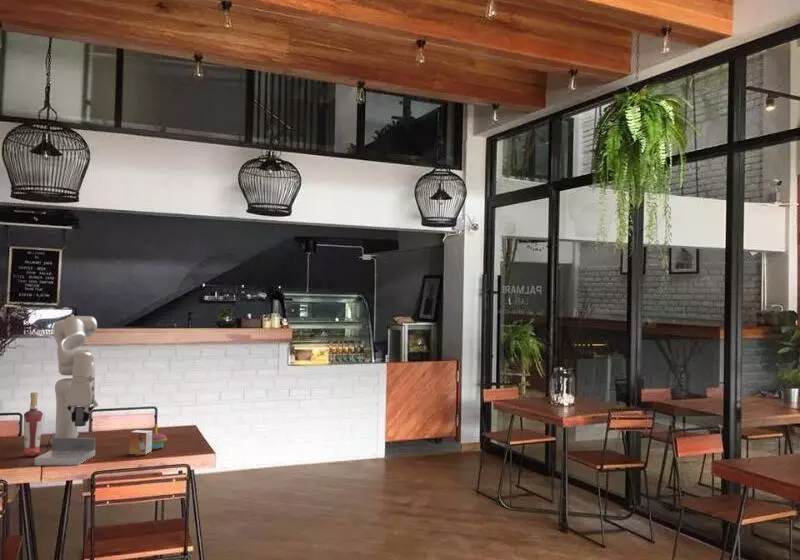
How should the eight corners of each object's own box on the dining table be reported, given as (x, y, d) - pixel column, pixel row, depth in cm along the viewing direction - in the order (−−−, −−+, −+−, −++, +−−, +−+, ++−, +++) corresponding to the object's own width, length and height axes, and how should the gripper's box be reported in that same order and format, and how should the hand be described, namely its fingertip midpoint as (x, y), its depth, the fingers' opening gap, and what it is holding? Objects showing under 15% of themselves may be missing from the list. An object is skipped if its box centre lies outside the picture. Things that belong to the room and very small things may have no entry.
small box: (129, 455, 303) (129, 431, 303) (135, 452, 308) (136, 429, 309) (145, 456, 302) (146, 432, 302) (151, 453, 307) (152, 430, 308)
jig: (53, 455, 299) (54, 437, 300) (95, 455, 301) (95, 437, 301) (34, 465, 281) (35, 446, 282) (78, 465, 283) (79, 446, 283)
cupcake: (144, 448, 317) (145, 423, 318) (161, 446, 323) (162, 421, 324) (152, 451, 311) (153, 425, 312) (169, 448, 317) (170, 423, 318)
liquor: (41, 457, 296) (43, 393, 297) (22, 458, 293) (24, 394, 294) (40, 453, 303) (43, 391, 304) (22, 455, 299) (24, 392, 300)
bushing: (76, 424, 294) (77, 406, 295) (87, 424, 295) (87, 406, 295) (73, 426, 290) (73, 407, 290) (83, 426, 290) (84, 407, 291)
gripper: (104, 378, 298) (103, 420, 297) (65, 378, 296) (63, 419, 295) (98, 380, 290) (97, 423, 290) (58, 380, 288) (56, 423, 288)
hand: (80, 421), depth 293 cm, fingers closed on bushing, 4 cm apart
